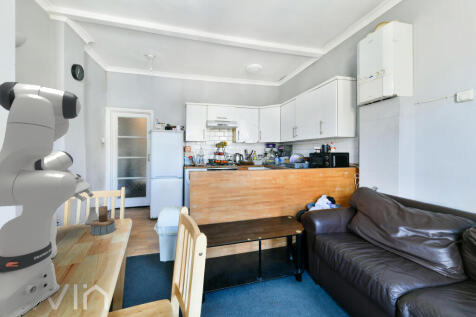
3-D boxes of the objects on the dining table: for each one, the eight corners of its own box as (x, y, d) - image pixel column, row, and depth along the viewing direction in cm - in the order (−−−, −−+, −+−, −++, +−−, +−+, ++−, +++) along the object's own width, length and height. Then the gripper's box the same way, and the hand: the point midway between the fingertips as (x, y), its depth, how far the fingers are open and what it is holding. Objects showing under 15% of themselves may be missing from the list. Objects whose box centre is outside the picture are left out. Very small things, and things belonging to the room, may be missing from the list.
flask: (92, 225, 120) (92, 209, 119) (82, 224, 121) (82, 208, 121) (102, 221, 127) (102, 206, 126) (93, 220, 128) (93, 205, 128)
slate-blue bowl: (108, 235, 108) (108, 226, 107) (86, 235, 106) (86, 227, 106) (118, 227, 118) (118, 219, 118) (98, 227, 117) (98, 219, 117)
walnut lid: (108, 226, 107) (108, 209, 107) (86, 227, 106) (86, 209, 106) (118, 219, 118) (118, 204, 118) (98, 220, 117) (98, 204, 117)
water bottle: (45, 264, 79) (45, 201, 78) (27, 263, 79) (27, 201, 78) (61, 255, 86) (61, 197, 86) (45, 254, 87) (45, 197, 86)
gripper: (61, 178, 97) (84, 198, 100) (81, 174, 117) (100, 190, 120) (50, 188, 96) (74, 207, 99) (72, 181, 116) (91, 198, 119)
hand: (88, 197), depth 110 cm, fingers open, 8 cm apart
